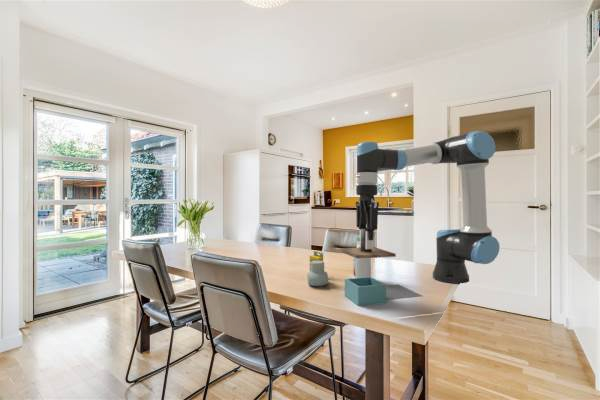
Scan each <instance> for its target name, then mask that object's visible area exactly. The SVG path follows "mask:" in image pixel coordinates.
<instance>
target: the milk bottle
mask: <svg viewBox="0 0 600 400" xmlns="http://www.w3.org/2000/svg"><path fill="white" fill-rule="evenodd" d="M356 242H357V245H356V248H361V247H360V236H358V237H357V238H356ZM362 277H372V258H355V257H353V278H362Z"/></svg>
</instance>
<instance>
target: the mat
mask: <svg viewBox="0 0 600 400" xmlns="http://www.w3.org/2000/svg"><path fill="white" fill-rule="evenodd" d="M418 297H423V295H422V294H420V293H418V292H415V291H414V290H411V289H409V288H407V287H405V286H403V285H401V284H389V285H387V284H386V301H390V300H391V301H392V300H401V299H410V298H418Z"/></svg>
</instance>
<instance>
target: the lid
mask: <svg viewBox="0 0 600 400" xmlns="http://www.w3.org/2000/svg"><path fill="white" fill-rule="evenodd" d="M365 230H366V229H361V248H357V247H345V248H344V247H343V248H342V247H341V248H340V247H339V249H338V250H339V252H341V253H342V254H345V255H348V256H350V257H353V258H354V257H355V258H371V259H373V258H374V259H375V258H376V259H377V258H393V257H397V256H396V255H397V254H396V253H394V252H391V251H388V250H385V249H381V248H378V247H375V246H373V249H366V231H365Z"/></svg>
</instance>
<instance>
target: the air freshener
mask: <svg viewBox="0 0 600 400" xmlns="http://www.w3.org/2000/svg"><path fill="white" fill-rule="evenodd" d="M306 274H307V275H306V276H307V277H306V278H307V284H308V285H310V286H311V287H323V286H326V285H327V284H328V283H329V275H328V272H327V271H325V262H324V260H323V261H312V262H311V271H310V270H309V271H308V272H307V273H306Z"/></svg>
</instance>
